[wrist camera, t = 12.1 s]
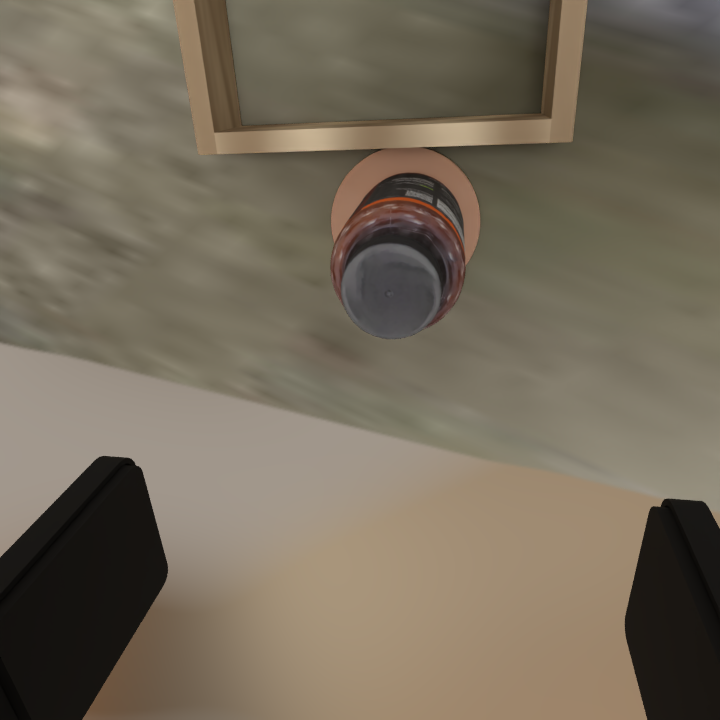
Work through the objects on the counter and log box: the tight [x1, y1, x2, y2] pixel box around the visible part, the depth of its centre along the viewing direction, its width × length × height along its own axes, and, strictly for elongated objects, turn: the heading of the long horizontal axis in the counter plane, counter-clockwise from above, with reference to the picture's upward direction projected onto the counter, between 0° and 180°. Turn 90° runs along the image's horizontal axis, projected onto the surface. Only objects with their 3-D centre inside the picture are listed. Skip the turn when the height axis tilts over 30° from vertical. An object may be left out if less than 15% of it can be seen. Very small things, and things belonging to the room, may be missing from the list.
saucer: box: [331, 147, 480, 266], centre depth 33 cm, size 8×8×1 cm
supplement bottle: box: [331, 172, 466, 339], centre depth 27 cm, size 6×6×11 cm
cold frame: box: [173, 0, 588, 155], centre depth 27 cm, size 18×11×4 cm, turn 93°
